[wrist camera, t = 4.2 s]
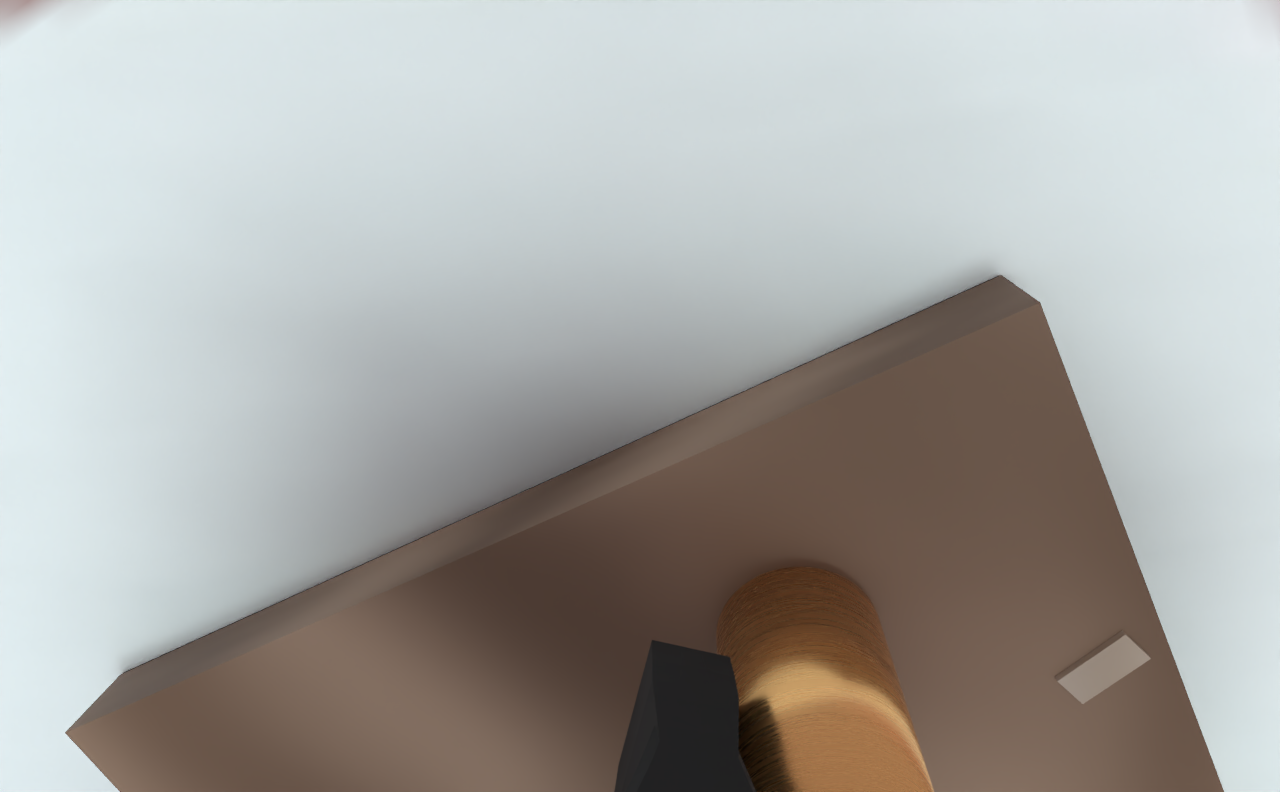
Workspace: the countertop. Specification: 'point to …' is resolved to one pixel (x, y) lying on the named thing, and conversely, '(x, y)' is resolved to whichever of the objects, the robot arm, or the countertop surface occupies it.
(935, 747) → the base
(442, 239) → the countertop surface
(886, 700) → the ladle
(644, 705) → the robot arm
